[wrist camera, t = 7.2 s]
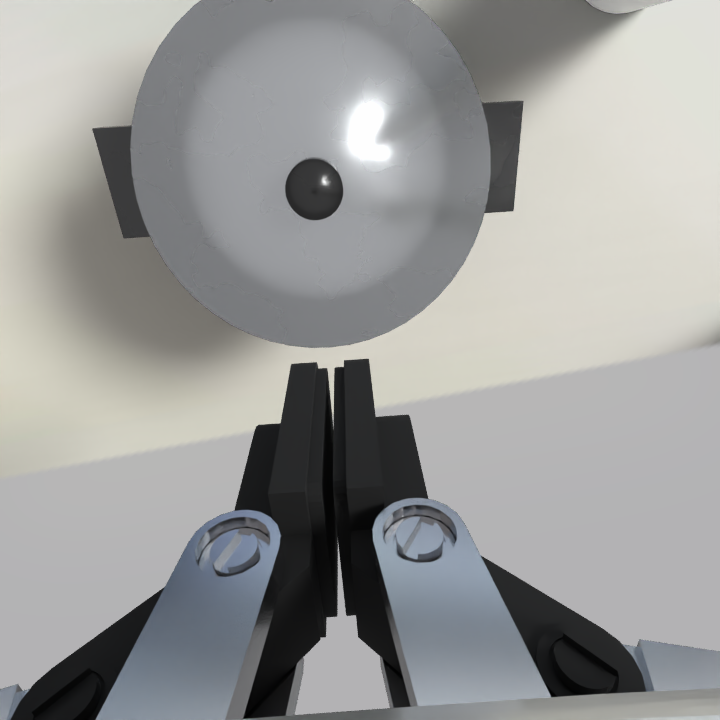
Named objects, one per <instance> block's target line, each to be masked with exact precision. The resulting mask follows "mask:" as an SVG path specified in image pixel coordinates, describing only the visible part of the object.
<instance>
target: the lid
mask: <svg viewBox="0 0 720 720" xmlns="http://www.w3.org/2000/svg"><path fill="white" fill-rule="evenodd" d="M130 151H131V168H132V177H133V183H134V188H135V194H136V199H137V202H138V205H139V208H140V212H141V215H142V218H143V221H144V224H145V226H146V228H147V230H148V233H149V235H150V237H151V239H152V242H153V244H154V246H155V247H156V249H157V251H158V252H159V254H160V256H161V257H162V259H163V261H164V262H165V264H166V265H167V267H168V268H169V269H170V271H171V272H172V273H173V275H174V276H175V277H176V278H177V280H178V281H179V282H180V284H181V285H182V286H183V287H184V288H185V289H186V290H187V291H188V292H189V293H190V294H191V295H192V296H193V297H194V298H195V299H196V300H197V301H199V302H200V303H201V304H202V305H203V306H205V307H206V308H207V309H208V310H210V311H211V312H212V313H213V314H215V315H216V316H218V317H220V318H221V319H223V320H224V321H226V322H227V323H229V324H231V325H232V326H234V327H236V328H238V329H241V330H243V331H245V332H247V333H249V334H251V335H254V336H257V337H260V338H262V339H265V340H268V341H272V342H276V343H281V344H285V345H290V346H299V347H309V348H319V347H336V346H343V345H350V344H354V343H358V342H362V341H366V340H369V339H372V338H374V337H377V336H380V335H382V334H385V333H387V332H389V331H391V330H393V329H395V328H397V327H398V326H400V325H402V324H404V323H406V322H407V321H409V320H410V319H411V318H413V317H414V316H416V315H417V314H419V313H420V312H421V311H423V310H424V309H425V308H426V307H427V306H428V305H429V304H430V303H432V302H433V301H434V300H435V299H436V298H437V297H438V296H439V295H440V294H441V293H442V291H443V290H444V289H445V288H446V287H447V286H448V285H449V283H450V282H451V281H452V280H453V278H454V277H455V275H456V274H457V272H458V271H459V269H460V268H461V266H462V265H463V263H464V262H465V260H466V258H467V256H468V254H469V252H470V250H471V248H472V246H473V244H474V242H475V240H476V237H477V234H478V231H479V229H480V226H481V223H482V220H483V216H484V212H485V208H486V204H487V200H488V192H489V183H490V175H491V168H490V143H489V135H488V127H487V122H486V118H485V114H484V110H483V106H482V103H481V99H480V97H479V94H478V91H477V89H476V86H475V84H474V81H473V79H472V76H471V74H470V72H469V71H468V69H467V67H466V65H465V63H464V62H463V60H462V58H461V56H460V54H459V53H458V51H457V50H456V48H455V47H454V46H453V44H452V43H451V42H450V40H449V39H448V38H447V36H446V35H445V34H444V32H443V31H442V30H441V29H440V28H439V27H438V26H437V25H436V24H435V23H434V22H433V21H432V20H431V19H430V18H429V17H428V16H427V15H426V14H425V13H424V11H423V10H421V9H420V8H419V7H417V6H416V5H415V4H413V3H412V2H411V1H409V0H201V1H199V2H198V3H197V4H195V5H194V6H193V7H192V8H191V9H190V10H189V11H188V12H187V13H186V14H185V15H184V16H183V17H182V18H181V19H180V20H179V21H178V22H177V23H176V24H175V25H174V27H173V28H172V29H171V31H170V32H169V34H168V35H167V36H166V38H165V39H164V40H163V42H162V43H161V45H160V46H159V48H158V49H157V51H156V53H155V55H154V57H153V59H152V61H151V63H150V65H149V67H148V69H147V70H146V73H145V76H144V79H143V82H142V85H141V87H140V90H139V93H138V96H137V101H136V106H135V111H134V115H133V120H132V131H131V146H130Z"/></svg>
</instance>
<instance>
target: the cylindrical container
mask: <svg viewBox="0 0 720 720" xmlns="http://www.w3.org/2000/svg"><path fill="white" fill-rule="evenodd" d="M586 1H587V2H588V3H589V4H590V5H592V6H593V7H595V8H597V9H599V10H601V11H603V12H608V13H613V14H620V13H629V12H633V11H636V10H640V9H643V8H647V7H650V6H654V5H657V4H661V3H664V2H668V1H671V0H586Z"/></svg>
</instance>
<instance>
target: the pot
mask: <svg viewBox="0 0 720 720" xmlns="http://www.w3.org/2000/svg"><path fill="white" fill-rule="evenodd" d="M482 106H483V110H484V114H485V118H486V122H487V127H488V135H489V143H490V168H491V175H490V183H489V192H488V200H487V204H486V208H485V212H484V213H492V212H506V211H513V209H514V198H515V187H516V176H517V166H518V155H519V144H520V133H521V122H522V111H523V101H503V102H487V103H482ZM131 131H132V125H128V126H113V127H100V128H93V133H94V136H95V140H96V143H97V147H98V150H99V154H100V157H101V161H102V164H103V168H104V171H105V175H106V178H107V182H108V185H109V189H110V192H111V196H112V199H113V203H114V206H115V210H116V213H117V217H118V220H119V224H120V227H121V230H122V234H123V237H124V238H136V237H150V235H149V233H148V230H147V228H146V226H145V224H144V221H143V218H142V215H141V212H140V208H139V205H138V202H137V199H136V194H135V188H134V183H133V177H132V168H131V151H130V146H131Z"/></svg>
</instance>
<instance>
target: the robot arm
mask: <svg viewBox="0 0 720 720" xmlns="http://www.w3.org/2000/svg"><path fill="white" fill-rule="evenodd" d="M337 543H338V544H339V552H340V562H341V571H342V580H343V590H344V599H345V608H346V615H347V616H351V615H356V618H357V629H358V637H359V638H360V639H361V640H362V641H363V642H365V643H366V644H367V645H368V646H369V647H370V648H371V649H373V650H374V651H375V652H376V653H377V654H378V655H380V661H381V670H382V674H383V678H384V683H385V687H386V692H387V696H388V701H389V705H390V708H387V709H373V710H359V711H347V712H332V713H319V714H304V715H294V714H295V709H296V704H297V700H298V695H299V690H300V685H301V680H302V675H303V664H304V659H303V656H305V654H307V653H308V652H309V651H310V650H311V649H312V648H313V647H314V645H316V643H318V642H319V641H320V637H326V617H336V616H337V585H338V580H337V579H338V578H337V577H338V567H337V566H338V564H337V563H338V562H337V561H338V551H337V550H338V544H337ZM0 720H720V651H714V650H707V649H700V648H694V647H688V646H680V645H674V644H667V643H661V642H654V641H648V640H641V639H640V640H639V642H638V645H637V647H635V646H629V645H623V644H621V643H620V641H618V640H617V639H616V638H614V637H613V636H612V635H610V634H609V633H608V632H606V631H605V630H604V629H602V628H601V627H599V626H597V625H596V624H594V623H592V622H591V621H589V620H587V619H586V618H584V617H582V616H581V615H579V614H577V613H576V612H574V611H572V610H571V609H569V608H567V607H566V606H564V605H562V604H561V603H559V602H557V601H556V600H554V599H552V598H550V597H549V596H547V595H545V594H544V593H542V592H541V591H539V590H537V589H535V588H534V587H532V586H531V585H529V584H527V583H526V582H524V581H522V580H521V579H519V578H517V577H516V576H514V575H512V574H511V573H509V572H507V571H506V570H504V569H502V568H501V567H499V566H497V565H496V564H494V563H492V562H491V561H489V560H487V559H485V558H484V557H482V556H481V555H480V554H479V551H478V549H477V547H476V545H475V543H474V541H473V539H472V537H471V535H470V533H469V531H468V529H467V527H466V525H465V523H464V522H463V521H462V519H461V518H460V516H459V515H458V514H457V513H456V512H455V511H453V510H452V509H451V508H449V507H448V506H447V505H445V504H442V503H440V502H438V501H435V500H431V499H428V496H427V491H426V487H425V482H424V478H423V473H422V469H421V465H420V460H419V456H418V451H417V447H416V442H415V438H414V433H413V429H412V425H411V420H410V417H409V415H397V416H384V417H375V409H374V400H373V391H372V383H371V374H370V365H369V359H359V360H344V367H337V368H335V375H334V430H333V420H332V410H331V400H330V390H329V380H328V371H327V368H322V369H318V365H317V362H314V363H299V364H292V365H291V369H290V374H289V380H288V386H287V391H286V397H285V402H284V408H283V413H282V419H281V423H280V424H266V425H258V426H256V429H255V432H254V436H253V440H252V444H251V448H250V451H249V456H248V459H247V463H246V467H245V471H244V475H243V479H242V483H241V488H240V491H239V495H238V499H237V502H236V506H235V510H234V511H232V512H228V513H225V514H222V515H219V516H217V517H216V518H214V519H212V520H210V521H208V522H207V523H205V524H204V525H203V526H202V527H201V528H200V529H199V530H197V531H196V533H195V534H194V535H193V537H192V538H191V540H190V541H189V542H188V544H187V546H186V548H185V550H184V552H183V553H182V555H181V558H180V559H179V561H178V563H177V565H176V567H175V569H174V571H173V573H172V574H171V576H170V578H169V580H168V582H167V584H166V586H165V587H164V588H163V589H161V590H160V591H159V592H157V593H156V594H154V595H153V596H152V597H150V598H149V599H147V600H146V601H145V602H143V603H142V604H141V605H139V606H138V607H136V608H135V609H134V610H132V611H131V612H129V613H128V614H127V615H125V616H124V617H123V618H121V619H120V620H118V621H117V622H116V623H114V624H113V625H111V626H110V627H109V628H108V629H106V630H104V631H103V632H102V633H100V634H99V635H98V636H96V637H95V638H94V639H92V640H91V641H90V642H88V643H86V644H85V645H84V646H82V647H81V648H80V649H78V650H77V651H75V652H74V653H73V654H71V655H70V656H68V657H67V658H66V659H64V660H63V661H62V662H60V663H59V664H57V665H56V666H55V667H53V668H52V669H51V670H50V671H49V672H47V673H46V674H45V675H44V676H43V677H41V679H39V680H38V681H37V682H36V683H35V684H34V685H33V686H32V687H31V689H28V690H24V691H22V689H21V688H20V686H19V685H18V684H16V685H13V686H10V687H6V688H3V689H0Z"/></svg>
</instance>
